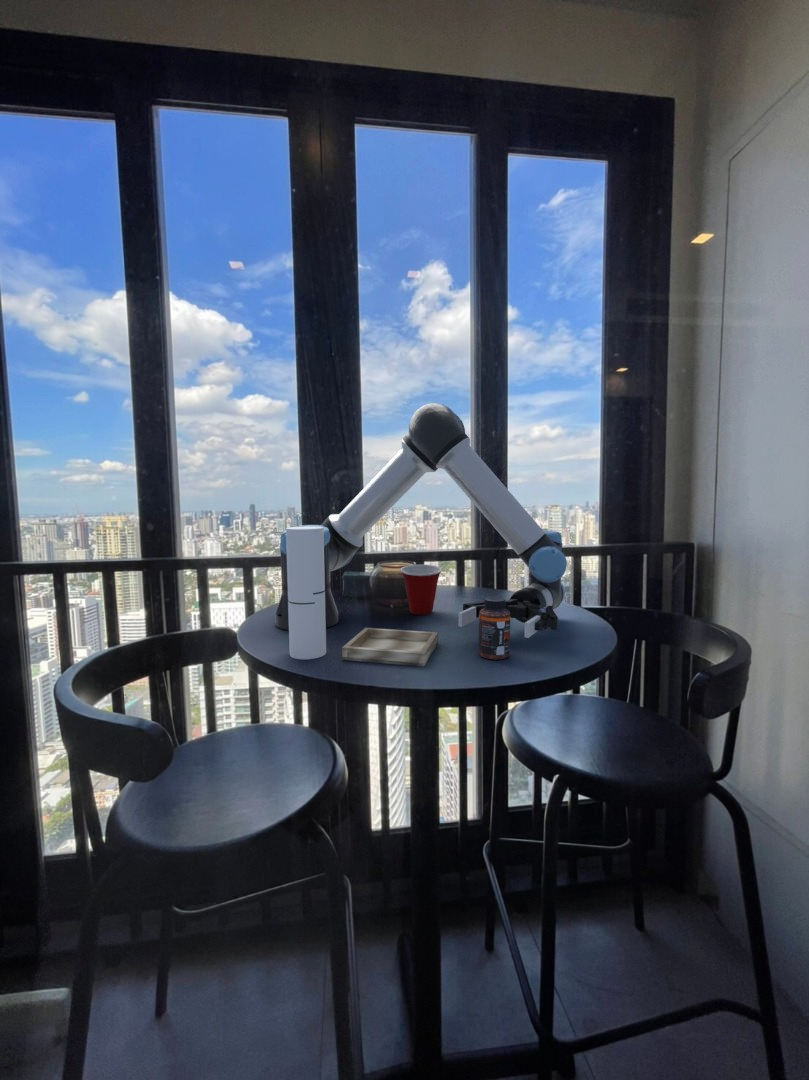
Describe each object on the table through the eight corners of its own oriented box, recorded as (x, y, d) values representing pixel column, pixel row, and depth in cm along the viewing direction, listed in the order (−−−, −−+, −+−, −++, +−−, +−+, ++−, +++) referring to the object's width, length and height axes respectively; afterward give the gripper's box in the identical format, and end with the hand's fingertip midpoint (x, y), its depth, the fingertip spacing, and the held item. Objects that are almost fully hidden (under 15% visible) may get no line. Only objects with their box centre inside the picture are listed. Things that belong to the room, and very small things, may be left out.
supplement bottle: (509, 661, 93) (510, 602, 92) (477, 659, 94) (478, 601, 93) (509, 651, 99) (510, 595, 98) (479, 650, 100) (480, 594, 99)
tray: (342, 659, 95) (342, 647, 94) (365, 638, 108) (365, 627, 108) (424, 666, 91) (424, 653, 91) (437, 643, 104) (437, 632, 104)
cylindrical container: (333, 653, 99) (330, 527, 96) (303, 662, 93) (299, 530, 91) (312, 645, 104) (309, 526, 101) (282, 653, 98) (278, 528, 96)
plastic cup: (398, 617, 126) (398, 570, 124) (402, 607, 136) (401, 564, 135) (441, 618, 125) (441, 571, 124) (441, 608, 136) (441, 564, 134)
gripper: (586, 627, 106) (557, 655, 88) (479, 612, 119) (435, 633, 102) (588, 593, 105) (558, 614, 87) (480, 581, 119) (435, 597, 101)
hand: (491, 625), depth 95 cm, fingers open, 13 cm apart
